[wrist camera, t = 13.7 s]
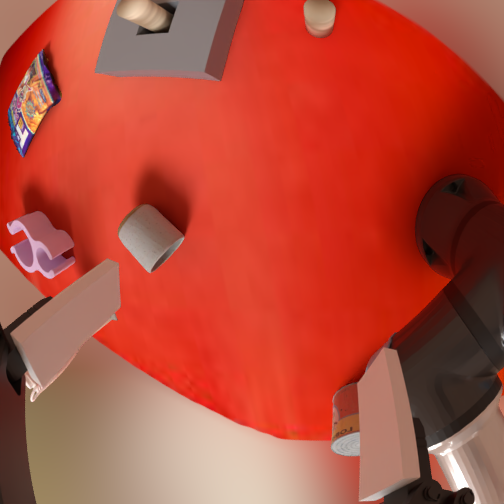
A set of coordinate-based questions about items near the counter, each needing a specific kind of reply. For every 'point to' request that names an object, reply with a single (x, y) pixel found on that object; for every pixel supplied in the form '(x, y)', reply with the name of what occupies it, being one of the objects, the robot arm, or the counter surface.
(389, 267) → the counter surface
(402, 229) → the counter surface
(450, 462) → the robot arm
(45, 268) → the clip
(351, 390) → the canned food
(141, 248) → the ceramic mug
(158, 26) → the long pin
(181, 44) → the hole block
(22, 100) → the food package
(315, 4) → the short pin
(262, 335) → the counter surface
